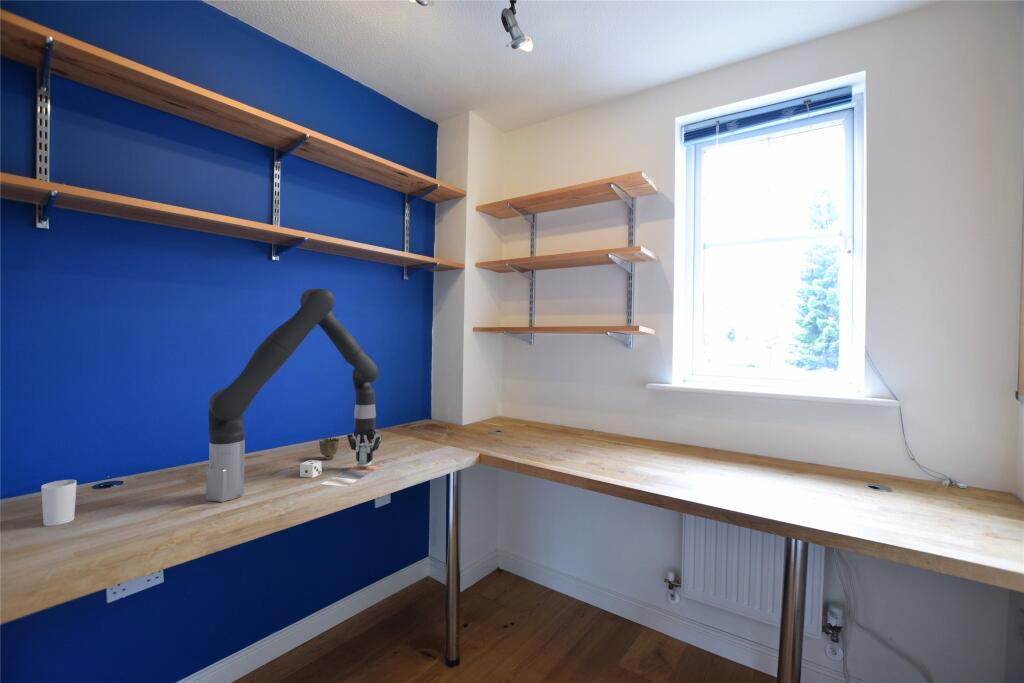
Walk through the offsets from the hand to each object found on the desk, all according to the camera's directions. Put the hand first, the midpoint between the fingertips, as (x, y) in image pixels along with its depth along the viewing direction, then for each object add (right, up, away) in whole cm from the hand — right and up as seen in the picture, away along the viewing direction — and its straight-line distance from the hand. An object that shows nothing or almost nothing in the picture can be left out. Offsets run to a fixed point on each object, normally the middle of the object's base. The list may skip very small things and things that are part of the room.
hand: (364, 461), depth 168 cm
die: (-16, -3, -9) cm, 19 cm away
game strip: (-2, -3, -8) cm, 9 cm away
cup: (-19, -3, +13) cm, 23 cm away
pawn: (0, -1, 0) cm, 1 cm away
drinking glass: (-64, -3, -50) cm, 82 cm away
